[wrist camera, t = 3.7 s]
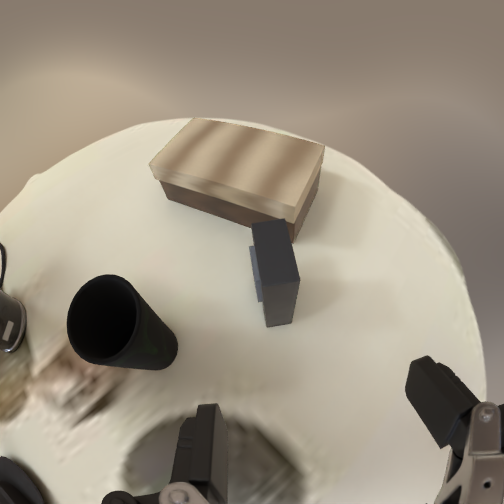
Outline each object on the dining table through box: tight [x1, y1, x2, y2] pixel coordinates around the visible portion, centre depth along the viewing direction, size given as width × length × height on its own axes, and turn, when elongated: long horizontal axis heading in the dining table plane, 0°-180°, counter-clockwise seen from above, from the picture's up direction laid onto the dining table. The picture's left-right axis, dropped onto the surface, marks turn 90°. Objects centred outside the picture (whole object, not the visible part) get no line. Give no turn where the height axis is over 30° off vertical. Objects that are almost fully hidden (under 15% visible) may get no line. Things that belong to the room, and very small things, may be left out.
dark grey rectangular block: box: [249, 218, 300, 327], centre depth 26 cm, size 3×6×12 cm, turn 8°
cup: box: [67, 274, 178, 370], centre depth 24 cm, size 8×8×12 cm
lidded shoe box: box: [149, 118, 325, 243], centre depth 36 cm, size 20×11×8 cm, turn 64°
